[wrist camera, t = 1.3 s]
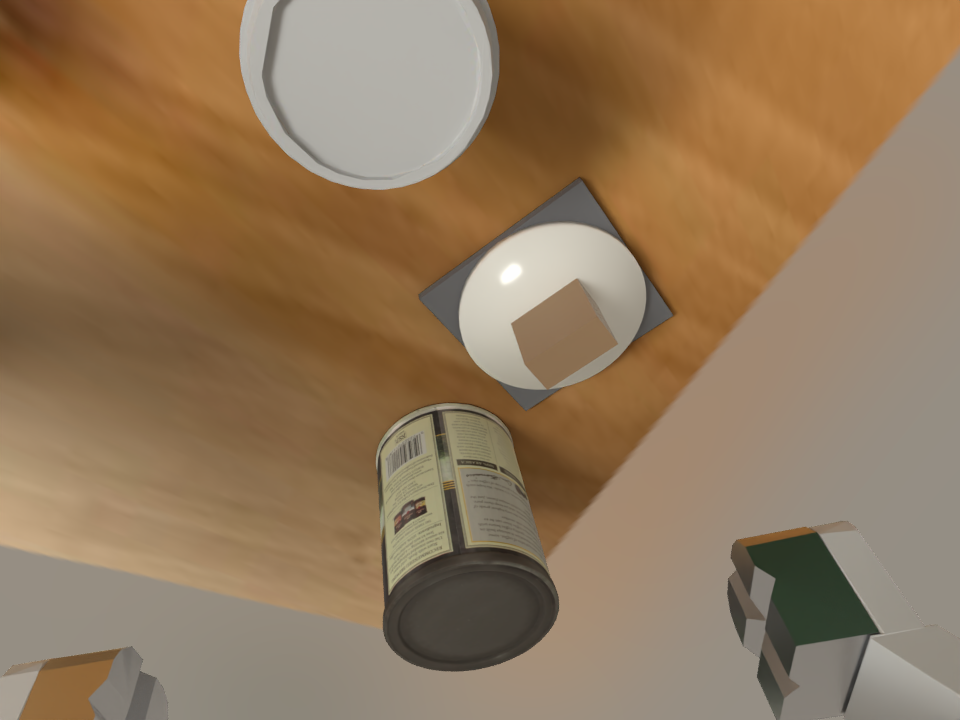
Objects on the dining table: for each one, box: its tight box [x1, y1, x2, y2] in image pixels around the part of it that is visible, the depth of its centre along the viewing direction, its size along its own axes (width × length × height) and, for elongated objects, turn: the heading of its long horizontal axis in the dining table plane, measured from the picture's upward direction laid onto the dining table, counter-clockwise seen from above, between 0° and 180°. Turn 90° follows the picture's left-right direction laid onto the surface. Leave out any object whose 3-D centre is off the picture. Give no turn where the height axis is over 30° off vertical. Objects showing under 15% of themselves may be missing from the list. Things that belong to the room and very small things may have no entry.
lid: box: [458, 221, 646, 390], centre depth 44 cm, size 12×12×5 cm
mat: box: [419, 177, 673, 411], centre depth 47 cm, size 12×12×1 cm
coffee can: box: [376, 403, 559, 671], centre depth 48 cm, size 10×10×14 cm
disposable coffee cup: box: [239, 0, 499, 190], centre depth 31 cm, size 10×10×12 cm
